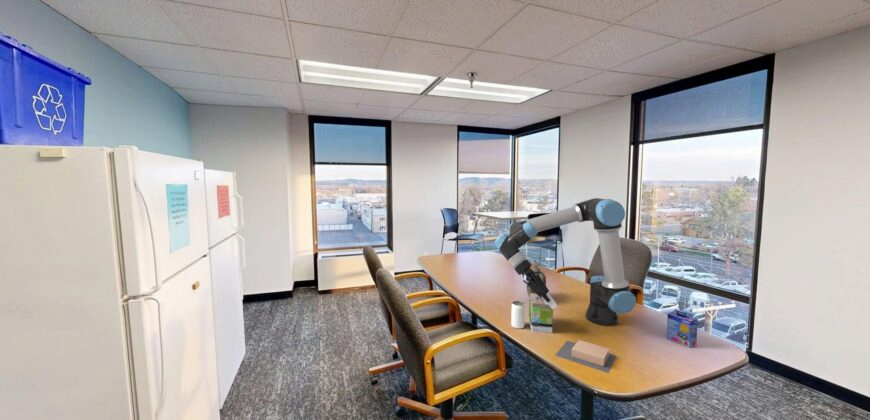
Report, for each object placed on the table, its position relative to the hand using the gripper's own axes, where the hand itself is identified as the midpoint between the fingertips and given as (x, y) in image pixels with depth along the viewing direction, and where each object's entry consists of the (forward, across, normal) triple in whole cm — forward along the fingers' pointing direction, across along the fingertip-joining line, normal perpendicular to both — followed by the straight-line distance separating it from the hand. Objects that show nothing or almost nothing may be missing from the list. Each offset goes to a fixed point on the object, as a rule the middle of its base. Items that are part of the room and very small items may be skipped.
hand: (555, 307), depth 142 cm
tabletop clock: (-6, -49, -31) cm, 58 cm away
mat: (+22, 0, -3) cm, 22 cm away
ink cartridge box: (+44, -38, +19) cm, 61 cm away
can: (-2, -10, -28) cm, 29 cm away
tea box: (+5, -16, -21) cm, 27 cm away
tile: (+17, 0, -5) cm, 18 cm away
